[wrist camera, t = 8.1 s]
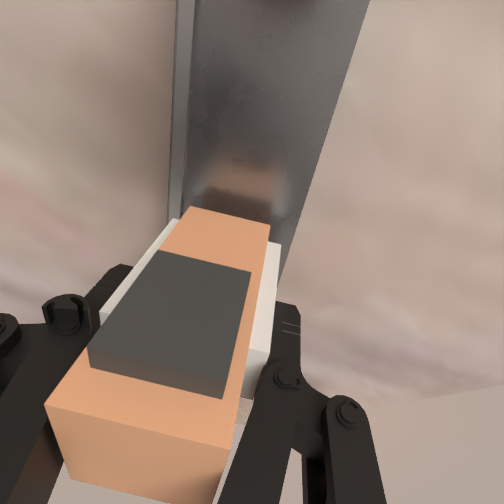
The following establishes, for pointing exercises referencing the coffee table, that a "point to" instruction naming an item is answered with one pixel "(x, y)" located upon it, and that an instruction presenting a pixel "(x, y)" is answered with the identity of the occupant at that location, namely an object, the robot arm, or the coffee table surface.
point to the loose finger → (167, 367)
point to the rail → (255, 104)
